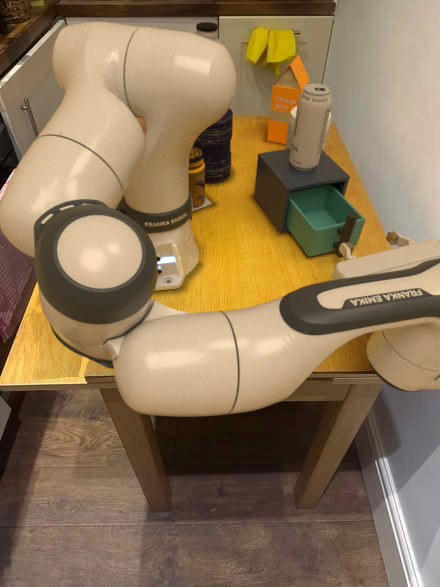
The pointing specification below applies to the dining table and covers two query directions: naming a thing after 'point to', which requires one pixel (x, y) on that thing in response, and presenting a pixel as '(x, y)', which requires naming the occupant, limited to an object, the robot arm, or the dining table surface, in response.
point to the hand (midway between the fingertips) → (367, 239)
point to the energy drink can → (310, 126)
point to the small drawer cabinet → (291, 182)
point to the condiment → (197, 179)
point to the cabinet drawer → (322, 220)
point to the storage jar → (217, 149)
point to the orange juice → (285, 99)
